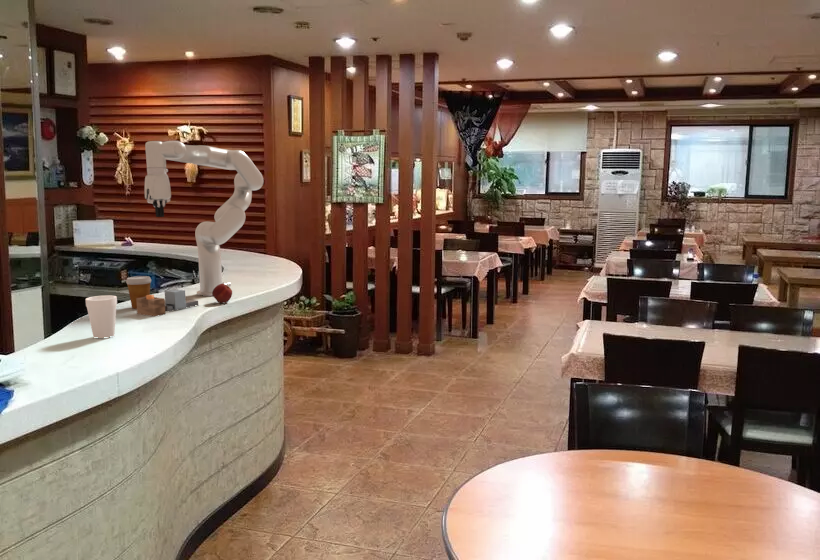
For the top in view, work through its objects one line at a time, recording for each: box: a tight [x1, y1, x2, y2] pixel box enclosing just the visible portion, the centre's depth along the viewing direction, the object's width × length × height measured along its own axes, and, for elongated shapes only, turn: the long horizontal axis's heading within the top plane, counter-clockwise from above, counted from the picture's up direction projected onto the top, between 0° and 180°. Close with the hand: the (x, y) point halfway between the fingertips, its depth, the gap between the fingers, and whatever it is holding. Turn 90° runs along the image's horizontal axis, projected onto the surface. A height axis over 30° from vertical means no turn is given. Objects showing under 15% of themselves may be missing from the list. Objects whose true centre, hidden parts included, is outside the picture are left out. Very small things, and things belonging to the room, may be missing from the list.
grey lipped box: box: [164, 288, 187, 310], centre depth 289 cm, size 5×6×7 cm
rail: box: [165, 299, 199, 312], centre depth 291 cm, size 15×4×2 cm, turn 147°
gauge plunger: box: [146, 294, 155, 300], centre depth 280 cm, size 3×3×4 cm
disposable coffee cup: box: [125, 275, 152, 310], centre depth 293 cm, size 10×10×12 cm
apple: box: [212, 284, 233, 304], centre depth 301 cm, size 7×8×8 cm
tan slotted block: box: [136, 296, 166, 317], centre depth 280 cm, size 5×10×6 cm, turn 57°
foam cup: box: [85, 294, 118, 338], centre depth 242 cm, size 10×9×13 cm
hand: (160, 216), depth 305 cm, fingers closed
